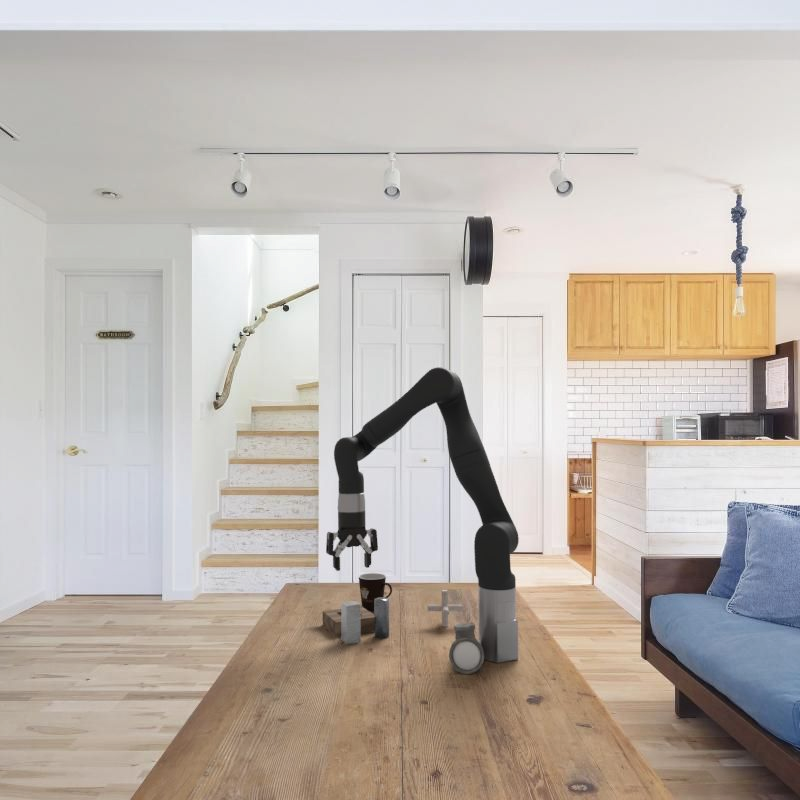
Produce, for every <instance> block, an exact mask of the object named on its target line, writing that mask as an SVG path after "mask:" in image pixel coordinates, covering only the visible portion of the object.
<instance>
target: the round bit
mask: <svg viewBox="0 0 800 800" xmlns="http://www.w3.org/2000/svg"><path fill="white" fill-rule="evenodd" d="M385 597H386V596H384V597H379V598H375V599H374V611H373V612H374V613H373V614H374V627H375V632H374V638H376V639H378V640H379V639H380V640H381V639H388V638H390V597H388V598H385Z"/></svg>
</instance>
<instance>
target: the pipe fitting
mask: <svg viewBox="0 0 800 800" xmlns="http://www.w3.org/2000/svg"><path fill="white" fill-rule="evenodd" d="M475 629H476V624H475V623H473V622H463V623H461V622H460V623H456V624H454V625H453V630H454V633H455V636H454V637H455V640H454V641H453V642H452V643H451V646H450V649H449V653H448V657H449V663H450V664H451V666H452V667H453V668H454V670H455V671H456V672H458V673H459V674H463V675H471V674H474V673H476V672H478V671H479V670H480V669H481V667H482V666H483V664H484V660H485V659H484V652H483V648H482V646H481V644H480V643H479V640H478V639H477V638H476V634H475Z"/></svg>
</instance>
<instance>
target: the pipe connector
mask: <svg viewBox="0 0 800 800" xmlns="http://www.w3.org/2000/svg"><path fill="white" fill-rule="evenodd" d="M463 608H464V607H463V604H449V590H448V589H442V590H441V602H440V604H427V612H441V626H442V627H444V628H445V627H449V615H450V612H463Z"/></svg>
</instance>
